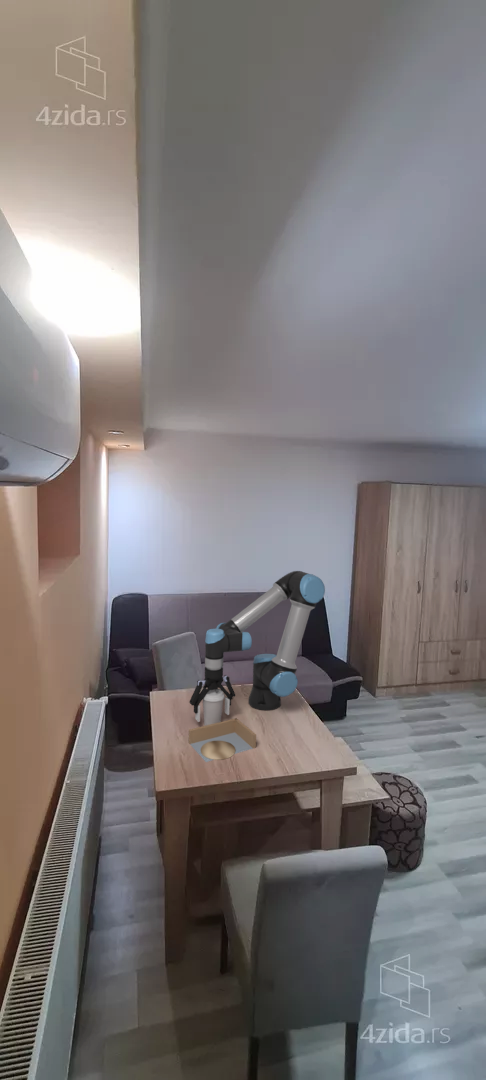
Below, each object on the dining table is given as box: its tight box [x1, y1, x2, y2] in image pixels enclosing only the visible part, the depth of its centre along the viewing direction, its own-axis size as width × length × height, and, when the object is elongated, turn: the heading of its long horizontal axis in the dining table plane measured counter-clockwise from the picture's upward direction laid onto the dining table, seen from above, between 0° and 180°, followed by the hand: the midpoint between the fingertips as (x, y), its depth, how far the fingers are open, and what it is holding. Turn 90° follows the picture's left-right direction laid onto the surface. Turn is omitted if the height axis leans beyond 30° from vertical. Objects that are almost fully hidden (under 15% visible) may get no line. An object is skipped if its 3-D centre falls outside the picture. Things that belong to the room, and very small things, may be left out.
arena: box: [188, 717, 257, 763], centre depth 176 cm, size 21×15×6 cm
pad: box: [201, 741, 235, 761], centre depth 173 cm, size 13×13×1 cm
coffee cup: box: [202, 688, 226, 726], centre depth 191 cm, size 10×10×15 cm
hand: (212, 716), depth 192 cm, fingers open, 13 cm apart
